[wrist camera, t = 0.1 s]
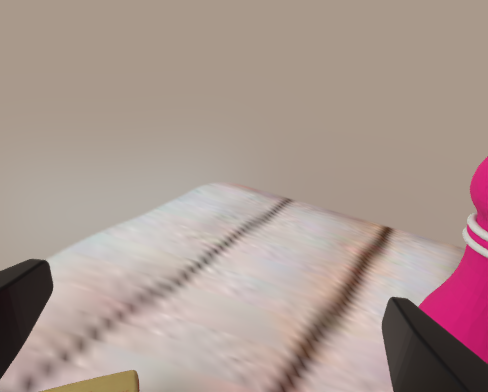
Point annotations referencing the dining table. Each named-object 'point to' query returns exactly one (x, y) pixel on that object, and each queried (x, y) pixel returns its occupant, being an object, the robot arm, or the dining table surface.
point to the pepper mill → (468, 279)
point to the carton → (104, 384)
